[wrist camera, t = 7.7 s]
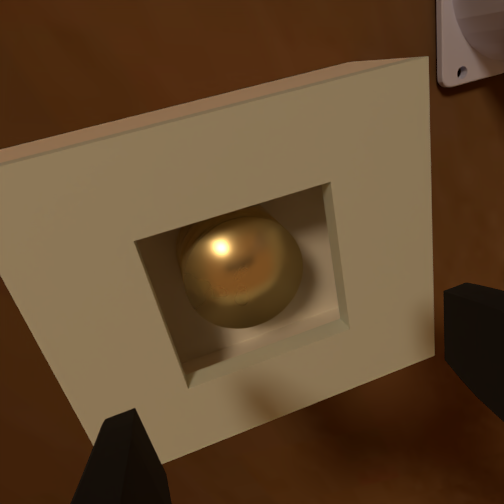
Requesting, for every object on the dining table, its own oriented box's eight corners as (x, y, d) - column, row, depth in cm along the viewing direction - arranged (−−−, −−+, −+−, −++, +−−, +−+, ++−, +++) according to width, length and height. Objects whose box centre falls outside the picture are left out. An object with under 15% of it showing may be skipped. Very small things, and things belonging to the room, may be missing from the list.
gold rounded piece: (291, 209, 18) (319, 232, 15) (260, 300, 19) (280, 335, 17) (191, 183, 17) (203, 203, 14) (164, 284, 18) (170, 320, 15)
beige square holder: (349, 61, 17) (428, 56, 13) (373, 300, 22) (434, 355, 18) (-1, 149, 15) (-52, 179, 11) (115, 394, 20) (113, 482, 16)
